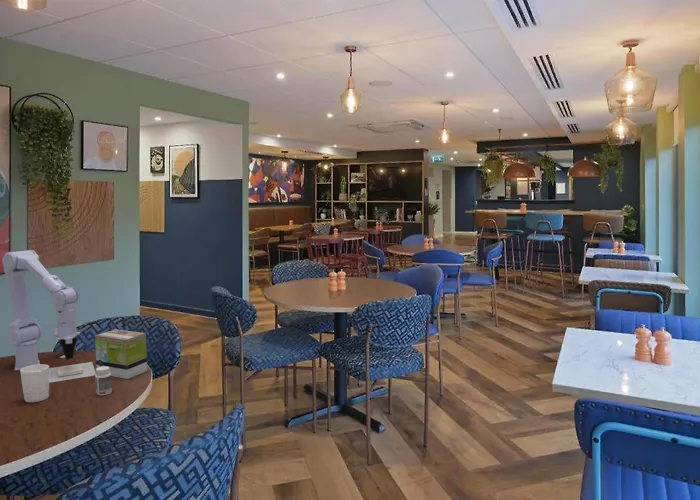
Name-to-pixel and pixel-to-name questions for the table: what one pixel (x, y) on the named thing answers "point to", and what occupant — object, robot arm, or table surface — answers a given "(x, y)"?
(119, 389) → the table surface
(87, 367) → the mat
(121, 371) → the tea box
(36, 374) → the white cup
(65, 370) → the tile
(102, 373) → the pill bottle
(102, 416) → the table surface
